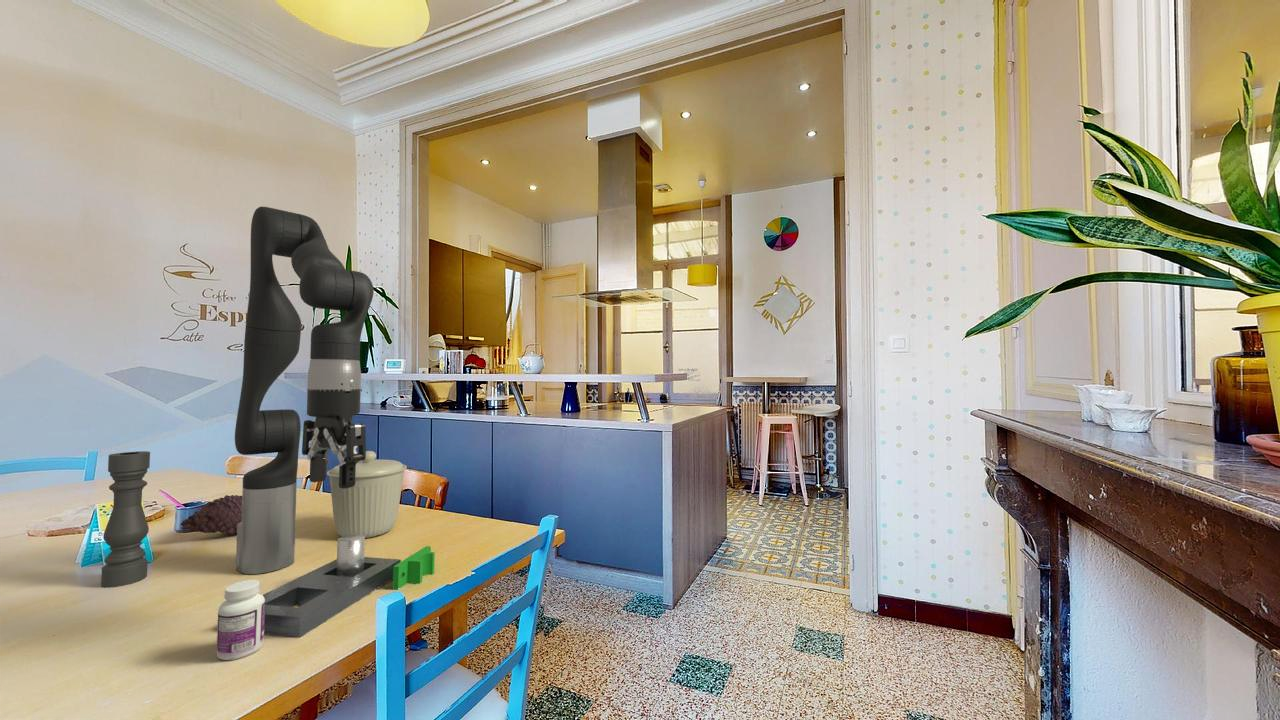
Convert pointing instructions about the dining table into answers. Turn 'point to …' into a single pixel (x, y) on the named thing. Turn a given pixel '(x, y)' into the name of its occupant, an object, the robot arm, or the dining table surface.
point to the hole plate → (321, 596)
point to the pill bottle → (241, 621)
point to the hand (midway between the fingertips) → (332, 484)
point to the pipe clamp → (414, 568)
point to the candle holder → (126, 520)
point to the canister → (368, 497)
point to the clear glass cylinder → (350, 555)
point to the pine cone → (217, 516)
